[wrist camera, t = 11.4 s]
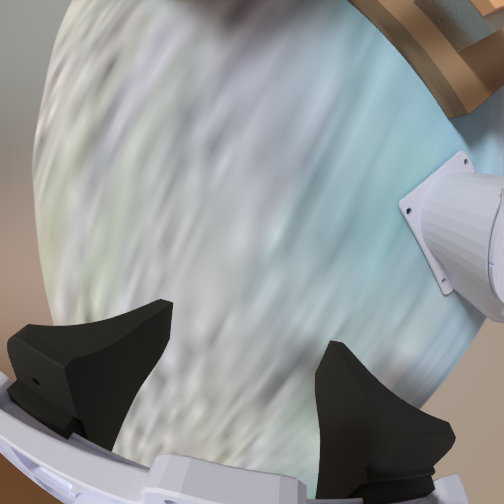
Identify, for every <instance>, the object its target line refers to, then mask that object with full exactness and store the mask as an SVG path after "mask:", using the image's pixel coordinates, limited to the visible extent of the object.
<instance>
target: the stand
mask: <svg viewBox="0 0 504 504" xmlns="http://www.w3.org/2000/svg"><path fill="white" fill-rule="evenodd" d="M348 1H349V2H350V3H351V4H352V5H354V6H355V7H356V8H357V9H358V10H359V11H360V12H361V13H362V14H363V15H365V16H366V17H367V18H368V19H369V20H370V21H371V22H372V23H373V24H374V25H375V26H376V27H377V28H378V29H379V30H380V31H381V32H382V33H383V34H384V35H385V37H386V38H387V39H388V40H389V41H390V42H391V43H392V44H393V45H394V46H395V48H396V49H397V50H398V51H399V52H400V53H401V54H402V56H403V57H404V58H405V59H406V60H407V62H408V63H409V64H410V65H411V67H412V68H413V69H414V70H415V72H416V73H417V74H418V76H419V77H420V78H421V79H422V81H423V82H424V84H425V85H426V86H427V88H428V89H429V91H430V92H431V93H432V95H433V96H434V98H435V99H436V101H437V102H438V104H439V105H440V107H441V108H442V110H443V111H444V113H445V115H446V116H447V118H448V119H450V118H454V117H458V116H463V115H467V114H469V113H471V112H472V111H473V110H474V109H475V108H477V107H478V106H479V105H480V104H481V103H482V102H484V101H485V100H486V99H487V98H488V97H489V96H491V95H492V94H493V93H494V92H495V91H496V90H498V89H499V88H500V87H501V86H502V85H503V84H504V27H503V28H501V29H499V30H498V31H496V32H494V33H492V34H490V35H489V36H487V37H485V38H483V39H481V40H479V41H478V42H476V43H474V44H472V45H470V46H469V47H467V48H465V49H463V50H462V51H460V52H458V53H457V52H456V51H455V49H454V48H453V47H452V45H451V44H450V43H449V42H448V40H447V39H446V38H445V37H444V35H443V34H442V33H441V32H440V31H439V29H438V28H437V27H436V26H435V25H434V24H433V23H432V21H431V20H430V19H429V18H428V17H427V16H426V15H425V14H424V13H423V12H422V11H421V10H420V9H419V7H418V6H417V5H416V4H415V3H414V0H348Z"/></svg>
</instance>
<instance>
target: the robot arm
mask: <svg viewBox="0 0 504 504" xmlns="http://www.w3.org/2000/svg"><path fill="white" fill-rule="evenodd" d="M464 160H465V161H466V164H464ZM398 207H399V209H400V211H401V213H402V214H403V216H404V218H405V220H406V221H407V223H408V225H409V227H410V228H411V230H412V232H413V234H414V236H415V238H416V240H417V241H418V243H419V245H420V247H421V249H422V251H423V253H424V255H425V257H426V259H427V261H428V263H429V265H430V267H431V269H432V271H433V273H434V276H435V278H436V280H437V282H438V284H439V287H440V289H441V291H442V293H443V294H445V295H448V294H449V293H450V292H451V291H453V290H456V291H457V292H458V293H459V294H461V295H462V296H463V297H464V298H465V299H467V300H468V301H469V302H470V303H471V304H472V305H474V306H475V307H476V308H477V309H478V310H479V311H481V312H482V313H483V314H484V315H485V316H486V317H487V318H489V319H491V320H493V321H496V322H502V323H504V176H497V175H488V174H477V173H476V172H475V170H474V168H473V166H472V164H471V161H470V159H469V157H468V155H467V154H466V152H465V151H458V152H457V153H456V154H455V155H454V156H453V157H451V158H450V159H449V160H448V161H447V162H446V163H445V164H443V165H442V166H441V167H440V168H439V169H438V170H436V171H435V172H434V173H433V174H432V175H430V176H429V177H428V178H427V179H426V180H424V181H423V182H422V183H421V184H420V185H418V186H417V187H416V188H415V189H414V190H412V191H411V192H410V193H409V194H407V195H406V196H405V197H404V198H402V199H401V200H400V201H399V204H398ZM408 208H409V209H410V213H409V214H407V213H406V210H407V209H408ZM443 279H444V281H443V282H442V280H443ZM172 310H173V302H170V301H166V300H163V299H159V300H156V301H154V302H152V303H149V304H147V305H145V306H142V307H140V308H137V309H135V310H132V311H130V312H127V313H124V314H121V315H119V316H116V317H113V318H109V319H106V320H102V321H97V322H93V323H86V324H79V325H69V326H43V325H33V324H28V325H26V326H25V327H24V328H22V329H21V330H20V331H18V332H17V333H16V334H14V335H13V336H12V337H11V338H9V340H8V342H7V350H8V355H9V358H10V361H11V364H12V367H13V369H14V372H15V375H16V378H17V380H16V381H15V382H14V383H13V384H12V382H11V381H10V379H9V378H8V377H7V376H6V375H4V374H3V373H2V372H1V371H0V453H1V454H3V455H4V456H5V457H6V458H7V459H8V460H9V461H10V462H11V463H12V464H14V465H15V466H16V467H17V468H18V469H19V470H20V471H22V472H23V473H24V474H25V475H26V476H28V477H29V478H30V479H32V480H33V481H34V482H35V483H37V484H38V485H39V486H41V487H42V488H43V489H44V490H46V491H47V492H49V493H50V494H51V495H53V496H54V497H56V498H57V499H59V500H60V501H62V502H63V503H65V504H469V502H468V499H467V496H466V493H465V491H464V488H463V485H462V482H461V480H460V477H459V475H458V474H457V473H456V474H453V475H449V476H445V477H441V478H438V479H436V480H434V481H433V480H432V477H431V475H433V474H434V473H435V470H434V467H433V466H434V465H435V464H436V463H437V462H438V461H439V460H440V459H441V458H442V457H443V456H444V455H445V454H446V453H447V452H448V451H449V450H450V449H451V448H452V446H453V444H454V442H455V438H456V437H455V435H454V432H453V430H452V428H451V426H450V424H449V422H446V421H443V420H441V419H438V418H436V417H433V416H431V415H429V414H427V413H424V412H423V411H421V410H419V409H417V408H415V407H413V406H411V405H410V404H408V403H407V402H405V401H404V400H402V399H401V398H399V397H398V396H396V395H395V394H394V393H392V392H391V391H390V390H389V389H388V388H386V387H385V386H384V385H383V384H382V383H381V382H379V381H378V380H377V379H376V378H375V377H374V376H373V375H372V374H371V373H370V372H369V371H368V370H367V369H366V367H365V366H364V365H363V364H362V363H361V362H360V361H359V360H358V359H357V357H356V356H355V355H354V354H353V353H352V352H351V351H350V350H349V349H348V347H347V346H346V345H345V344H344V343H342V342H337V341H331V340H330V342H329V344H328V347H327V349H326V351H325V353H324V356H323V358H322V360H321V362H320V365H319V367H318V369H317V371H316V373H315V397H316V405H317V412H318V420H319V428H320V461H319V474H318V483H317V491H316V497H315V499H306V485H305V484H303V483H302V482H301V481H299V480H298V479H296V478H295V477H290V476H286V475H281V474H275V473H267V472H260V471H254V470H248V469H243V468H237V467H232V466H227V465H223V464H218V463H214V462H210V461H206V460H202V459H198V458H195V457H191V456H185V455H179V454H165V455H158V456H157V457H156V458H155V460H154V461H153V463H152V465H151V468H149V467H146V466H143V465H141V464H138V463H136V462H133V461H131V460H128V459H126V458H124V457H121V456H119V455H117V454H115V453H113V452H112V449H113V446H114V444H115V441H116V439H117V436H118V434H119V431H120V429H121V426H122V424H123V422H124V419H125V417H126V415H127V413H128V410H129V408H130V406H131V404H132V402H133V400H134V398H135V396H136V394H137V392H138V391H139V389H140V387H141V386H142V384H143V383H144V381H145V380H146V378H147V377H148V375H149V374H150V372H151V371H152V369H153V368H154V367H155V365H156V364H157V362H158V361H159V359H160V357H161V356H162V354H163V352H164V350H165V348H166V346H167V344H168V341H169V339H170V330H171V320H172Z"/></svg>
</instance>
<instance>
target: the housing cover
mask: <svg viewBox="0 0 504 504" xmlns="http://www.w3.org/2000/svg"><path fill="white" fill-rule="evenodd" d="M470 1H471V2H472V3H473V4H474V5H475V6H476V8H477V9H478V10H479V11H480V13H481V14H482V15H483V16H485V15H488V14H490V13H493V12H496V11H498V10H501V9H504V0H470Z"/></svg>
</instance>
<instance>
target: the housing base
mask: <svg viewBox="0 0 504 504" xmlns="http://www.w3.org/2000/svg"><path fill="white" fill-rule="evenodd" d="M414 3H415V4H416V5H417V6H418V7H419V9H420V10H421V11H422V12H423V13H424V14H425V15H426V16H427V17H428V18H429V19H430V20H431V21H432V23H433V24H434V25H435V26H436V27H437V28H438V29H439V31H440V32H441V33H442V34H443V35H444V37H445V38H446V39H447V40H448V42H449V43H450V44H451V45H452V47H453V48H454V49H455V51H456V52H457V53H458V52H460V51H462V50H463V49H465V48H467V47H469V46H470V45H472V44H474V43H476V42H478V41H479V40H481V39H483V38H485V37H487V36H489V35H490V34H492V33H494V32H496V31H498V30H499V29H501V28H503V27H504V9H501V10H498V11H496V12H493V13H490V14H488V15H485V16H483V15H482V14H481V13H480V11H479V10H478V9H477V8H476V6H475V5H474V4H473V3H472V2H471V1H470V0H414Z"/></svg>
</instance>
